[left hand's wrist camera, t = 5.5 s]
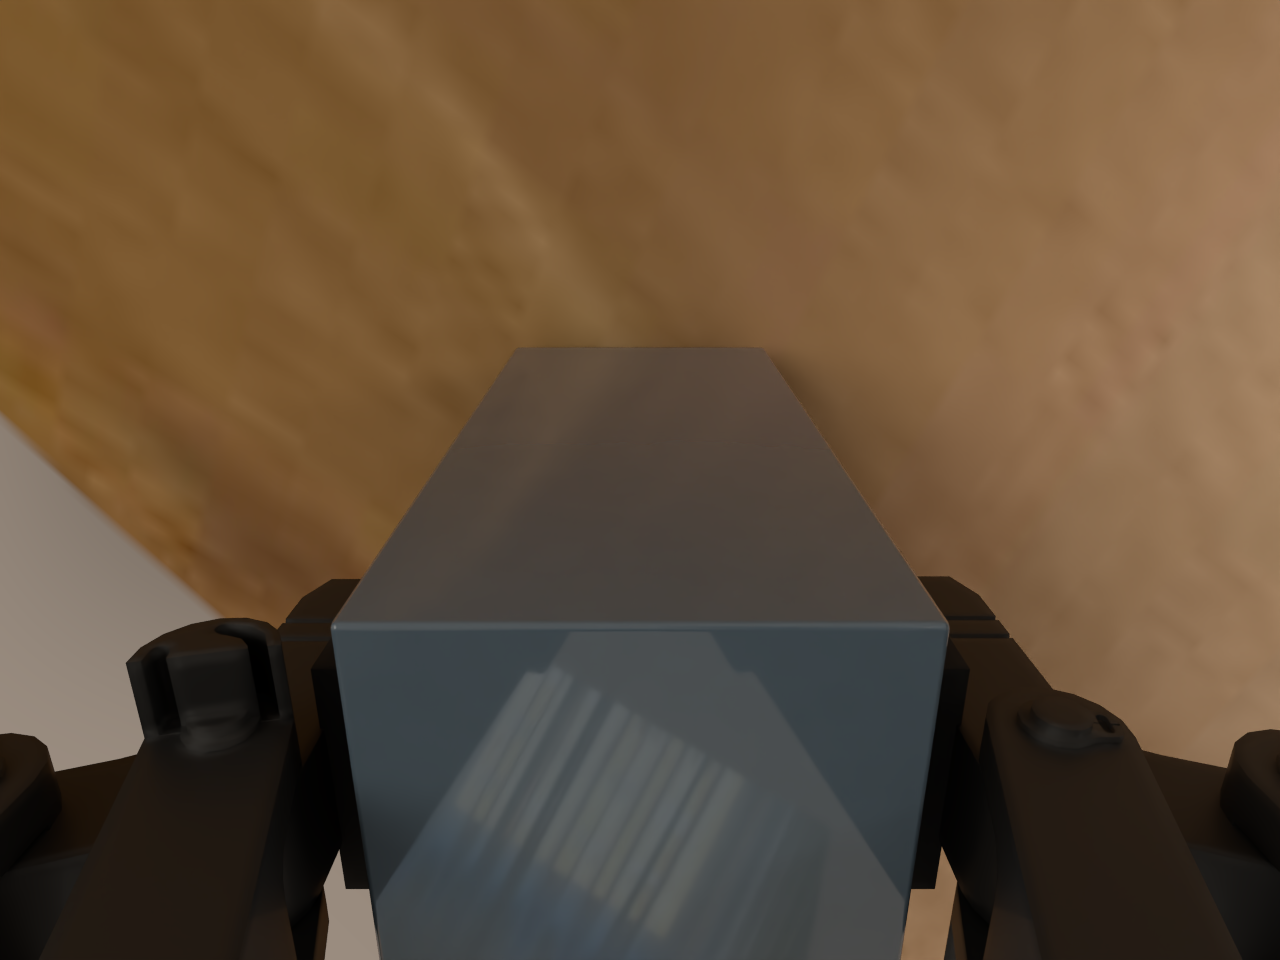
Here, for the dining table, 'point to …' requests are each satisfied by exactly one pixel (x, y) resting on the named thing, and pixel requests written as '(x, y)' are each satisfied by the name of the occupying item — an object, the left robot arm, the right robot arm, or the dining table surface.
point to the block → (640, 679)
